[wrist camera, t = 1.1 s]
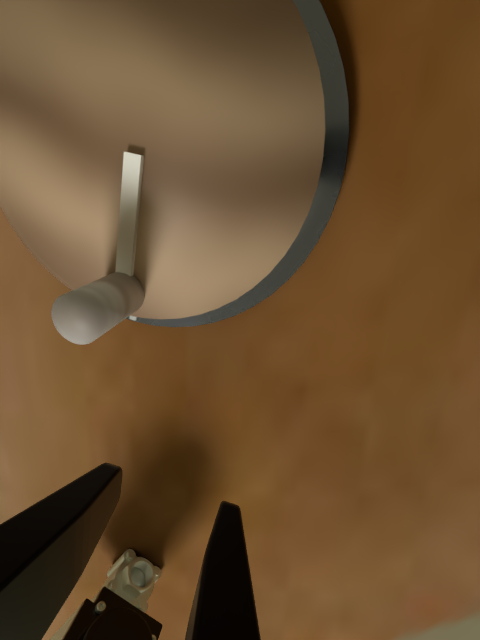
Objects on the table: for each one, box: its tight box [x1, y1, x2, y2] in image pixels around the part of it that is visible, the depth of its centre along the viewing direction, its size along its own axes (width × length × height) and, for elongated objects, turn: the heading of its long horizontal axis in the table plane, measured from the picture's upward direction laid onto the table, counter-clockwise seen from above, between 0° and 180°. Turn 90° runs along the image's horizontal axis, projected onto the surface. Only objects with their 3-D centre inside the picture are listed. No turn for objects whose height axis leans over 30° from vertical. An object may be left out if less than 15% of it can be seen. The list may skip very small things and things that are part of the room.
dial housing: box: [126, 0, 349, 327], centre depth 18 cm, size 18×18×1 cm
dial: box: [0, 0, 325, 344], centre depth 15 cm, size 16×16×5 cm
